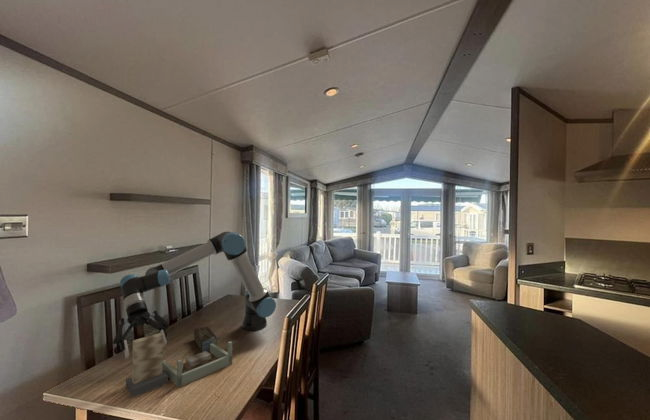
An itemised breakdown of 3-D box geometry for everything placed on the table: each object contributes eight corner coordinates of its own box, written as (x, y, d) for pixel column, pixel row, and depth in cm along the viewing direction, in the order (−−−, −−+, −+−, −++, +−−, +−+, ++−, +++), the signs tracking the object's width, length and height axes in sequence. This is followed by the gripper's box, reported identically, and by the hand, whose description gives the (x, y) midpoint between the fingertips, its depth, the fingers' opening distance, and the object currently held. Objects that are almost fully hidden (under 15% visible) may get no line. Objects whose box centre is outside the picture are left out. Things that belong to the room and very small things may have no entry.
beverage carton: (201, 353, 141) (201, 340, 141) (193, 340, 156) (193, 328, 156) (217, 349, 145) (218, 336, 146) (208, 336, 161) (208, 325, 161)
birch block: (159, 370, 119) (160, 332, 119) (162, 373, 117) (163, 334, 117) (131, 381, 111) (132, 340, 112) (134, 384, 109) (135, 342, 110)
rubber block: (158, 374, 122) (158, 367, 122) (167, 383, 115) (167, 375, 115) (125, 386, 113) (126, 379, 113) (133, 397, 106) (133, 389, 106)
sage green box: (212, 351, 143) (212, 331, 143) (232, 363, 131) (232, 342, 131) (160, 370, 125) (161, 347, 125) (178, 387, 113) (178, 361, 113)
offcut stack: (206, 363, 131) (206, 350, 131) (212, 367, 127) (213, 354, 128) (182, 372, 123) (182, 358, 123) (188, 377, 119) (188, 363, 119)
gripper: (163, 304, 136) (176, 344, 126) (99, 318, 117) (107, 367, 107) (168, 295, 133) (181, 336, 123) (102, 308, 114) (111, 358, 104)
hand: (147, 350), depth 115 cm, fingers open, 13 cm apart
